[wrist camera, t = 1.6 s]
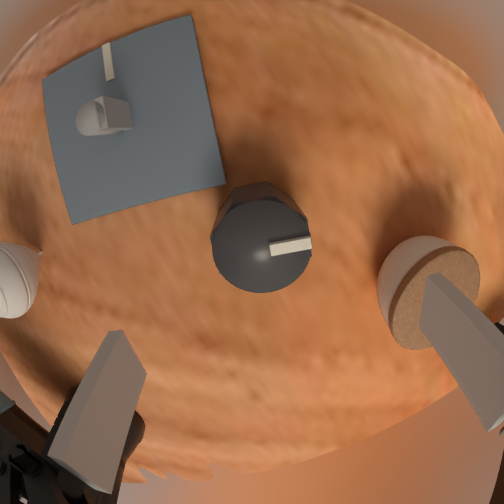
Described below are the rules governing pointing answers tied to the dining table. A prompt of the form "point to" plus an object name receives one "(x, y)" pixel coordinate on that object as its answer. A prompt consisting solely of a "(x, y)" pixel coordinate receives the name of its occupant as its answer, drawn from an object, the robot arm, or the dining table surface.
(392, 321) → the lidded jar
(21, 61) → the dining table surface
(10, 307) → the spinning top
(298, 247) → the knob
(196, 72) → the shaft plate
